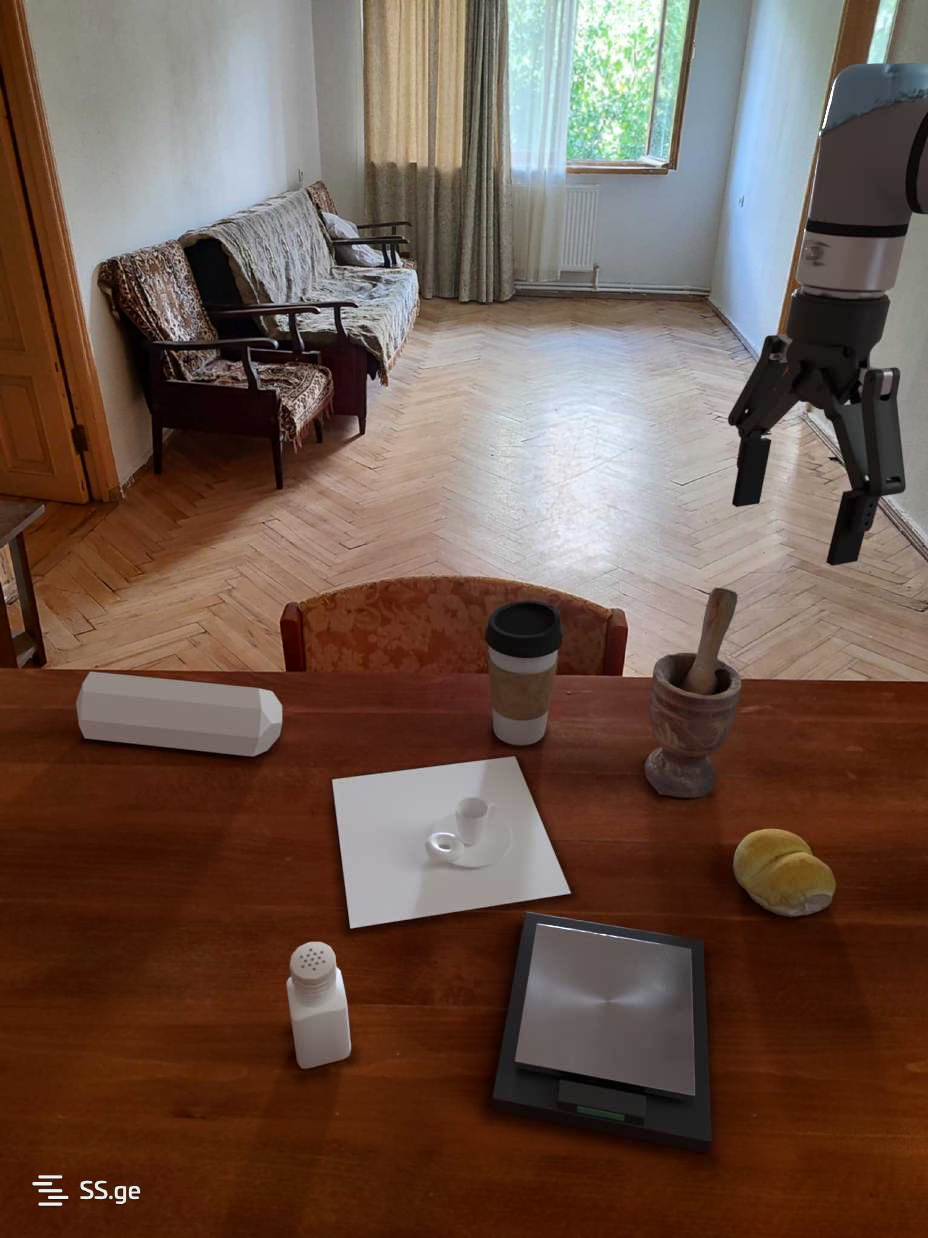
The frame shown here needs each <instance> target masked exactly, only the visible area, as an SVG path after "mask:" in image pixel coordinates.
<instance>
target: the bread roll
mask: <svg viewBox="0 0 928 1238" xmlns="http://www.w3.org/2000/svg"><path fill="white" fill-rule="evenodd" d="M732 869H733V875H734V877H735V880H736V881H737V883H738V884H739V885H740V886H741V888H743V889H745V890H746V892H747V893H748V895H749V897H750V898H751V900H753V901H754V902H755V903H757V904H758V905H759V906H761V907H762V908H763V909H765V910H767V911H768V912H771V913H774V914H776V915H779V916H784V917H789V918H793V917H800V916H808V915H811V914H814V913H817V912H820V911H822V910H824V909H826V908H828V906H829V905H831V903H832V901H833V896H834V893H835V891H836V888H837V884H836V878H835V875H834V874H833V873H834V872H833V871H832V870H831V868H830V867H829V865H827V864H826V863H825V862H823V861H822V860H821V859H819V858H817V857H816V856H814V855H813V852H812V850H811V847H810V846H809V844H807V842H806V841H804V839H802V837H800V836H798V835H797V834H795V833H793V832H791V831H788V830H783V829H780V828H764V829H759V830H755V831H753V832H750V833H749V834H747V835H745V837H744V838H743V839H742V840H741V841H740V842H739V844H738V846H737V847H736V850H735V852H734V856H733V864H732Z"/></svg>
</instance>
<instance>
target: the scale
mask: <svg viewBox="0 0 928 1238" xmlns="http://www.w3.org/2000/svg"><path fill="white" fill-rule="evenodd" d="M537 924H543V925H549V926H555V927H561V928H567V929H574V930H580V931H586V932H592V933H598V934H604V935H610V936H616V937H622V938H628V939H635V940H641V941H647V942H653V943H659V944H665V945H671V946H677V947H683V948H689V949H691V954H692V991H693V1027H694V1064H695V1099H694V1102H690V1101H685V1100H680V1099H675V1098H670V1097H664V1096H659V1095H654V1094H649V1093H644V1092H638V1091H633V1090H628V1089H623V1088H618V1087H612V1086H607V1085H602V1084H597V1083H591V1082H586V1081H581V1080H576V1079H571V1078H565V1077H560V1076H555V1075H550V1074H545V1073H539V1072H534V1071H529V1070H524V1069H519V1068H515V1067H514V1063H515V1056H516V1049H517V1043H518V1037H519V1031H520V1025H521V1019H522V1012H523V1006H524V1000H525V994H526V988H527V982H528V975H529V969H530V963H531V957H532V951H533V945H534V938H535V932H536V926H537ZM521 930H522V931H521V935H520V942H519V945H518V952H517V958H516V964H515V969H514V974H513V980H512V985H511V991H510V997H509V1002H508V1007H507V1008H508V1010H507V1014H506V1020H505V1024H504V1031H503V1036H502V1042H501V1047H500V1051H499V1059H498V1063H497V1064H498V1065H497V1069H496V1075H495V1080H494V1086H493V1092H492V1097H491V1099H492V1101H491V1111H493V1112H498V1113H504V1114H508V1115H513V1116H519V1117H524V1118H529V1119H533V1120H539V1121H544V1122H548V1123H553V1124H558V1125H564V1126H568V1127H574V1128H577V1129H583V1130H588V1131H593V1132H597V1133H602V1134H607V1135H613V1136H617V1137H622V1138H627V1139H632V1140H638V1141H642V1142H648V1143H652V1144H656V1145H657V1144H658V1145H662V1146H667V1147H673V1148H677V1149H682V1150H688V1151H693V1152H697V1153H701V1154H702V1153H703V1154H706V1155H708V1154H709V1153H710V1150H711V1146H712V1143H713V1139H712V1135H713V1134H712V1115H711V1114H712V1113H711V1092H710V1066H709V1045H708V1044H709V1043H708V1042H709V1041H708V1019H707V1017H708V1016H707V997H706V995H707V994H706V970H705V969H706V968H705V949H704V945H705V944H704V940H703V939H696V938H690V937H685V936H678V935H671V934H665V933H660V932H659V933H658V932H654V931H653V932H652V931H647V930H641V929H635V928H629V927H623V926H616V925H610V924H603V923H597V922H591V921H584V920H579V919H573V918H568V917H560V916H554V915H548V914H542V913H536V912H535V913H534V912H529V911H525V913H524V918H523V925H522V929H521Z"/></svg>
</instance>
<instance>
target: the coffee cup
mask: <svg viewBox="0 0 928 1238" xmlns="http://www.w3.org/2000/svg"><path fill="white" fill-rule="evenodd" d="M484 630H485V631H484V640H485V642H486V644H487V645H488V651H487V663H488V676H489V689H490V701H491V707H492V708H491V711H492V728H493V732H494V735H495V736H496V737H497V738H498V739H499V740H501V741H502V742H504V743H506V744H509V745H512V746H527V745H532V744H535V743H537V742H539V741H540V740H541V739H542V738H543V737H544V736H545V732H546V728H547V721H548V716H549V709H550V705H551V701H552V694H553V689H554V684H555V679H556V673H557V668H558V663H559V654H558V651H559V649H560V647H561V646H562V645H563V642H564V631H563V628H562V617H561V614H560V612H559V610H558V609H557V608H556V606H554V605H552V604H549V603H547V602H543V601H540V600H534V599H533V600H531V599H528V600H527V599H526V600H519V601H518V600H517V601H513V602H510V603H507V604H504V605H502V606H500V607H498V608H497V609H495V610H494V611H493V612H492V613H491V614H490V615H489V617H488V623H487V626H486V628H485V629H484Z"/></svg>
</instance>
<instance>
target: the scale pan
mask: <svg viewBox="0 0 928 1238" xmlns="http://www.w3.org/2000/svg"><path fill="white" fill-rule="evenodd" d="M514 1067H515V1068H519V1069H524V1070H529V1071H534V1072H539V1073H545V1074H550V1075H555V1076H560V1077H565V1078H571V1079H576V1080H581V1081H586V1082H591V1083H597V1084H602V1085H607V1086H612V1087H618V1088H623V1089H628V1090H633V1091H638V1092H644V1093H649V1094H654V1095H659V1096H664V1097H670V1098H675V1099H680V1100H685V1101H690V1102H694V1099H695V1064H694V1027H693V991H692V954H691V949H689V948H683V947H677V946H671V945H665V944H659V943H653V942H647V941H641V940H635V939H628V938H622V937H616V936H610V935H604V934H598V933H592V932H586V931H580V930H574V929H567V928H561V927H555V926H549V925H543V924H537V926H536V932H535V938H534V945H533V951H532V957H531V963H530V969H529V975H528V982H527V988H526V994H525V1000H524V1006H523V1012H522V1019H521V1025H520V1031H519V1037H518V1043H517V1049H516V1056H515V1063H514Z"/></svg>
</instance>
